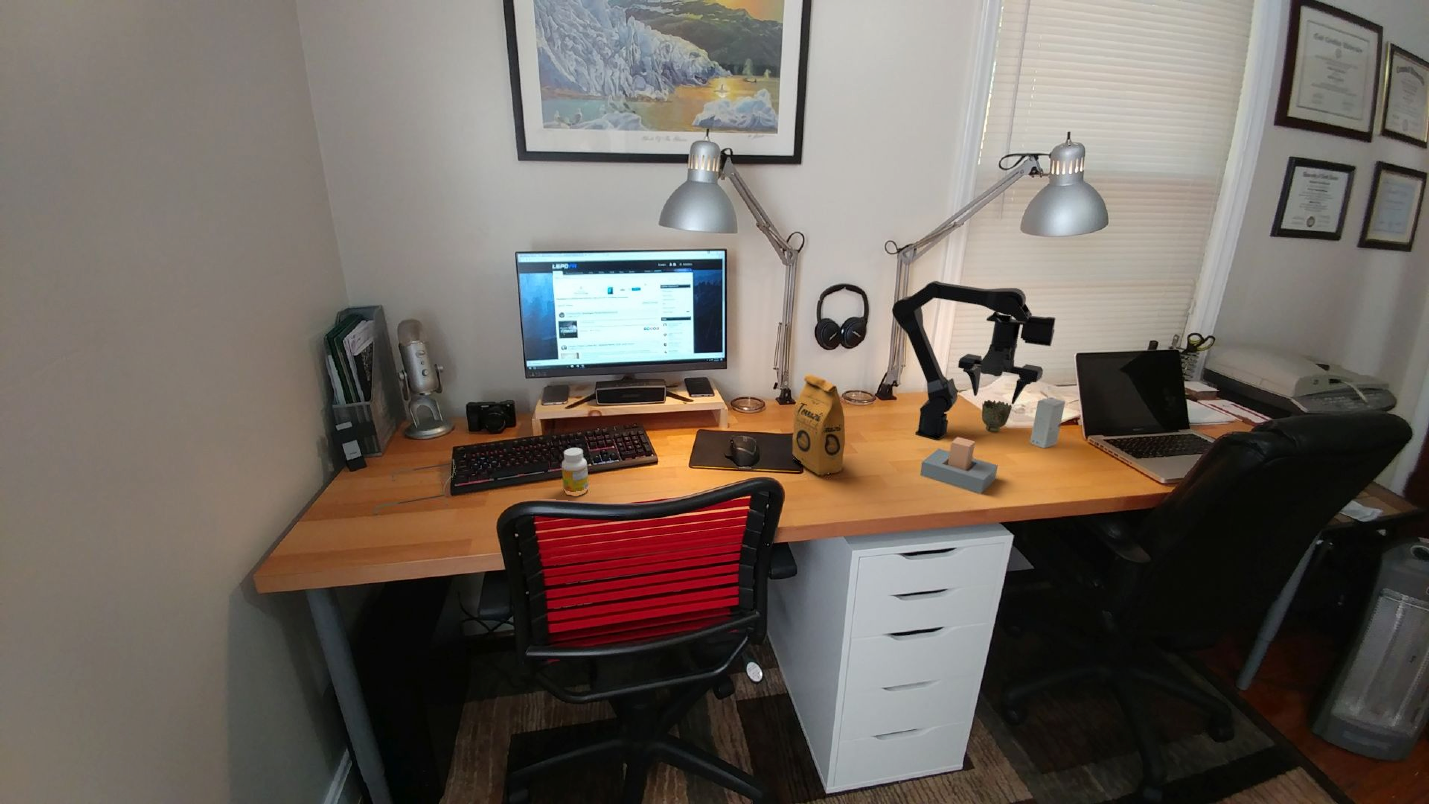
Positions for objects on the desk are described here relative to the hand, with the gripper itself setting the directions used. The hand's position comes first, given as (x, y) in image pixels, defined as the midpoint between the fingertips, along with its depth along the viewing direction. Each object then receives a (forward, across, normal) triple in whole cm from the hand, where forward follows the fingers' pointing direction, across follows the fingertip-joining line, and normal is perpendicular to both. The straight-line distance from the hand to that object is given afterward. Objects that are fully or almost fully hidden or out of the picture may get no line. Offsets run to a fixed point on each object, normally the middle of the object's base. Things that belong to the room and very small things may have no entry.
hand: (993, 399), depth 153 cm
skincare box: (+13, +11, +12) cm, 21 cm away
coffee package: (+13, -27, -40) cm, 50 cm away
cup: (+13, -2, +12) cm, 18 cm away
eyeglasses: (+14, -85, -110) cm, 140 cm away
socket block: (+13, +1, -23) cm, 26 cm away
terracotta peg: (+13, +1, -23) cm, 26 cm away
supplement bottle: (+13, -60, -87) cm, 106 cm away
